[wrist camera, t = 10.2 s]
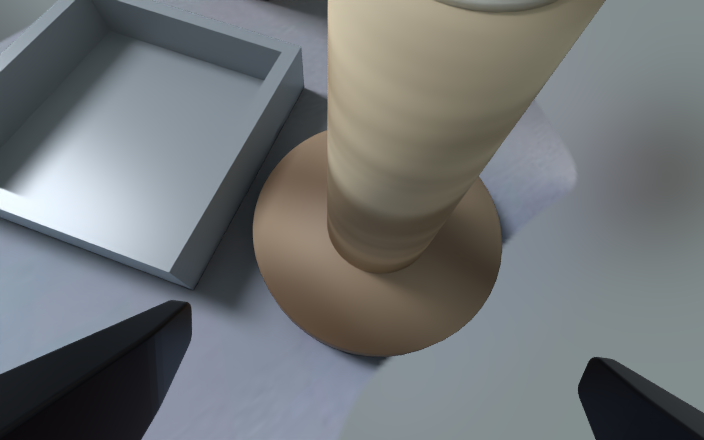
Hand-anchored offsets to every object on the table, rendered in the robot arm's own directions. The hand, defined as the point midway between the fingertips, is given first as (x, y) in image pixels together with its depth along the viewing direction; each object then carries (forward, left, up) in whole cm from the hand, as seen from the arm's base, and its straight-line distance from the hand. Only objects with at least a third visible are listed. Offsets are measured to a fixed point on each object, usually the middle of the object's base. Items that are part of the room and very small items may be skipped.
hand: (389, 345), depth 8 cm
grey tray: (+7, +15, -9) cm, 19 cm away
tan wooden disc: (+6, +1, -9) cm, 11 cm away
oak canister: (+6, +1, -8) cm, 10 cm away
